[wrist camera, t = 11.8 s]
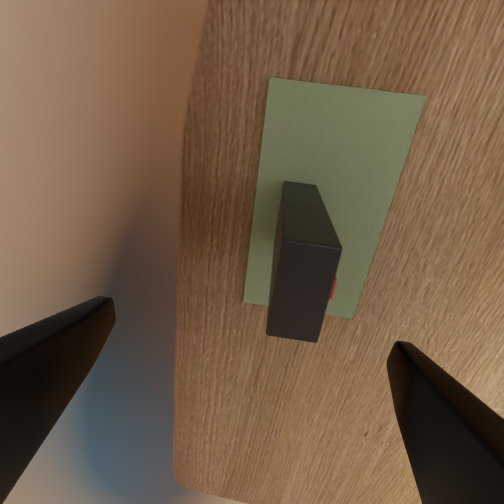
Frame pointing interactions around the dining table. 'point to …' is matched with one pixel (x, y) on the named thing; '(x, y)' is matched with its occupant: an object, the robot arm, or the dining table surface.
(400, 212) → the dining table surface
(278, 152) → the mat
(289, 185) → the dark grey rectangular prism
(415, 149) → the dining table surface
